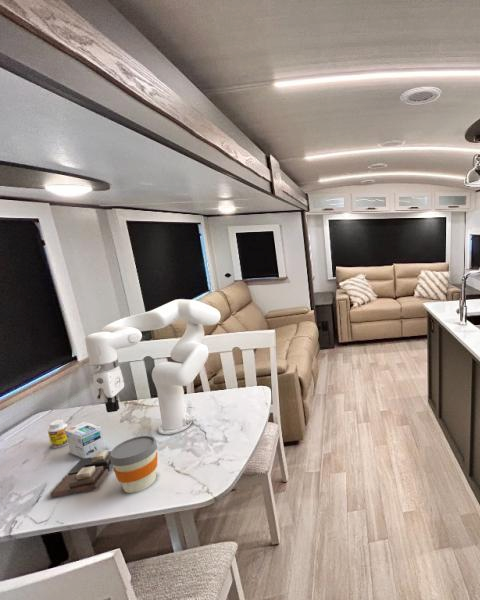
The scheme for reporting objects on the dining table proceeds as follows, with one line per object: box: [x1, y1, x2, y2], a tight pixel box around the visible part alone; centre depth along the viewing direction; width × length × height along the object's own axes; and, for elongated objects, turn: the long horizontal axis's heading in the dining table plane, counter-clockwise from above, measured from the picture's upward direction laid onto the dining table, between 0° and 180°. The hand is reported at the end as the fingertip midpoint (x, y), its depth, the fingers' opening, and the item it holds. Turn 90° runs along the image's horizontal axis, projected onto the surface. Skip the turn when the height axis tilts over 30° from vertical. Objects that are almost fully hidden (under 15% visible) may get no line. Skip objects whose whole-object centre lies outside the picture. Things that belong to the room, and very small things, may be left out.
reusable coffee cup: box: [110, 435, 158, 494], centre depth 111 cm, size 13×13×15 cm
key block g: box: [50, 466, 109, 499], centre depth 111 cm, size 12×8×4 cm, turn 109°
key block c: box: [67, 450, 114, 476], centre depth 119 cm, size 12×8×4 cm, turn 109°
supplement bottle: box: [47, 419, 69, 448], centre depth 131 cm, size 6×6×10 cm
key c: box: [91, 449, 109, 462], centre depth 119 cm, size 4×4×2 cm
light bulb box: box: [65, 421, 106, 459], centre depth 127 cm, size 11×7×11 cm, turn 71°
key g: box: [76, 466, 96, 480], centre depth 111 cm, size 4×4×2 cm
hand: (113, 410), depth 118 cm, fingers closed
